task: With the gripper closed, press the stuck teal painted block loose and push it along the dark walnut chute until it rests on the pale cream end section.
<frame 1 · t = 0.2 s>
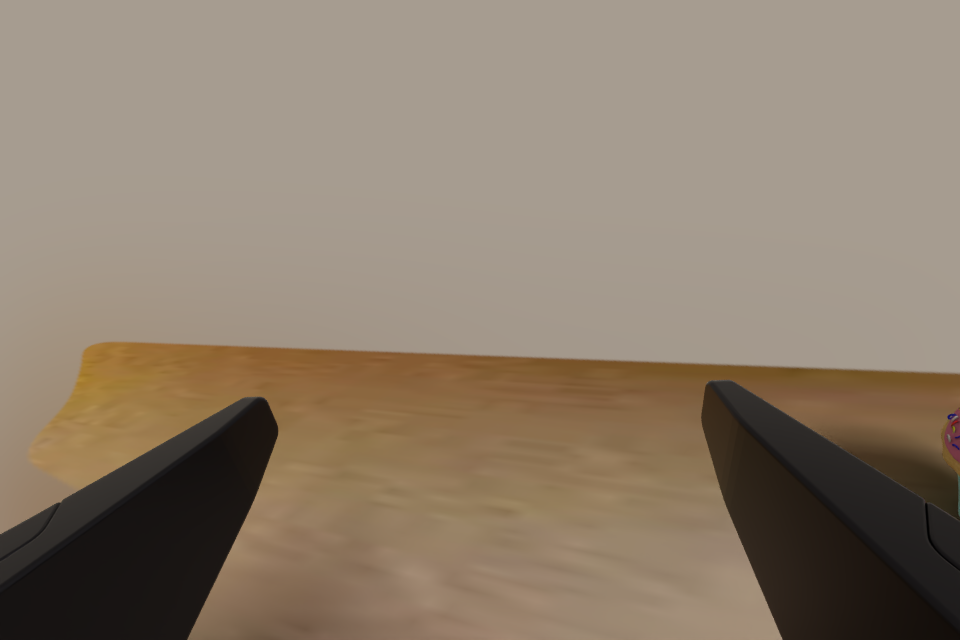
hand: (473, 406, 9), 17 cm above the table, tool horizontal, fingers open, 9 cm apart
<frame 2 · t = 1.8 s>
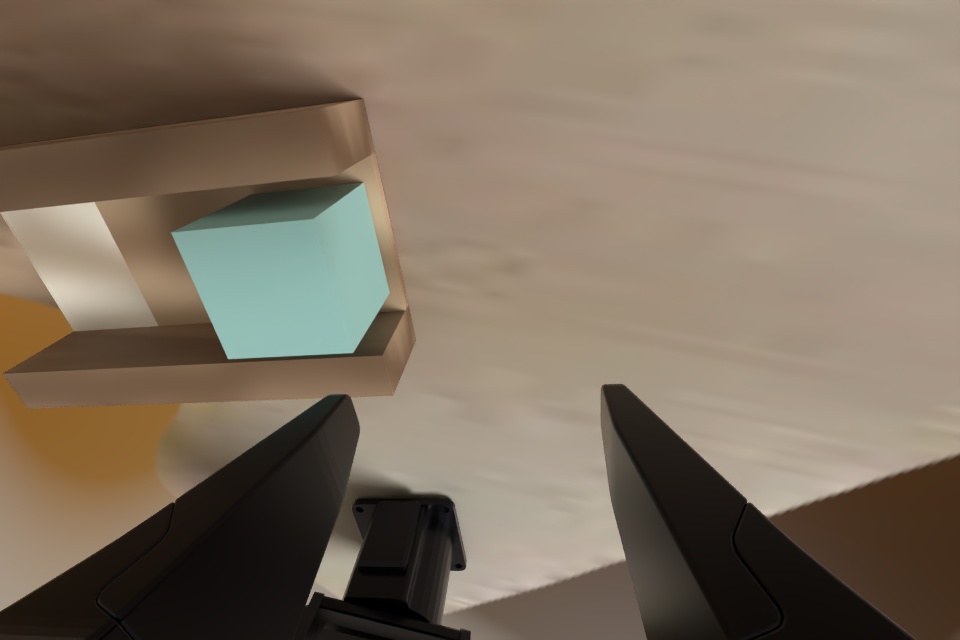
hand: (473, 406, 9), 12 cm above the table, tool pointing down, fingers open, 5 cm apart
teal block: (298, 267, 18), point 3 cm above the table, slide at 0.0 cm
chute: (209, 250, 22), on the table
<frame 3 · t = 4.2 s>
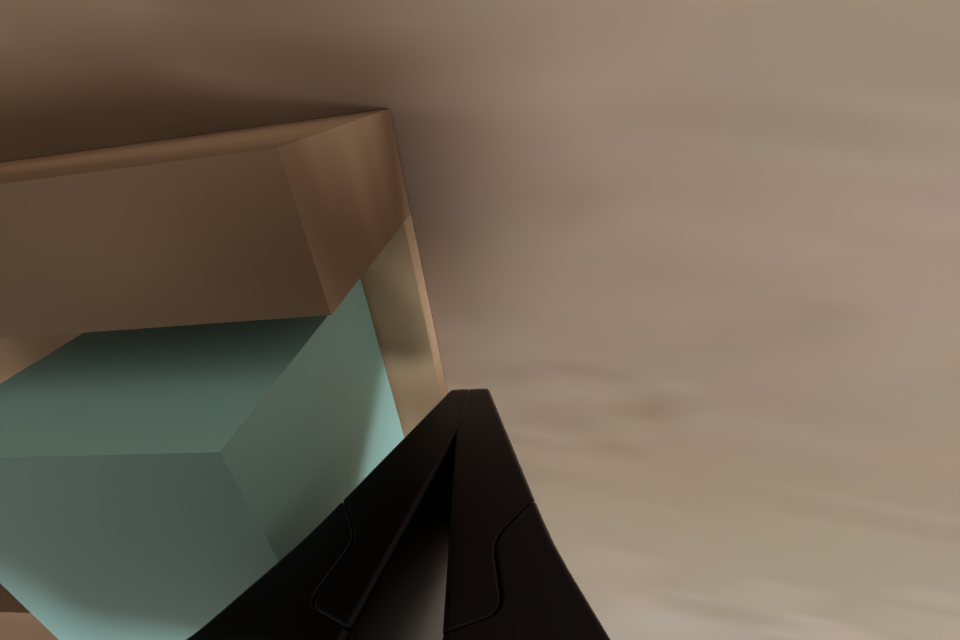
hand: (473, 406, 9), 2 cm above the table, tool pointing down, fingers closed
teal block: (229, 455, 9), point 3 cm above the table, slide at 0.7 cm, touching gripper
chute: (117, 372, 13), on the table
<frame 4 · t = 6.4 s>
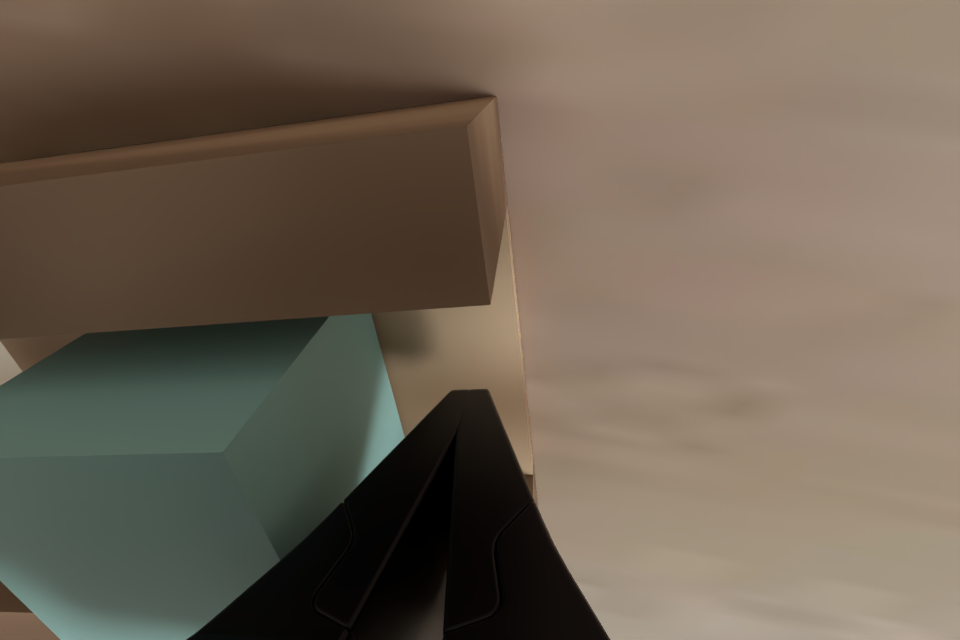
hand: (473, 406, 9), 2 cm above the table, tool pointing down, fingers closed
teal block: (230, 455, 9), point 3 cm above the table, slide at 2.7 cm, touching gripper
chute: (183, 369, 12), on the table
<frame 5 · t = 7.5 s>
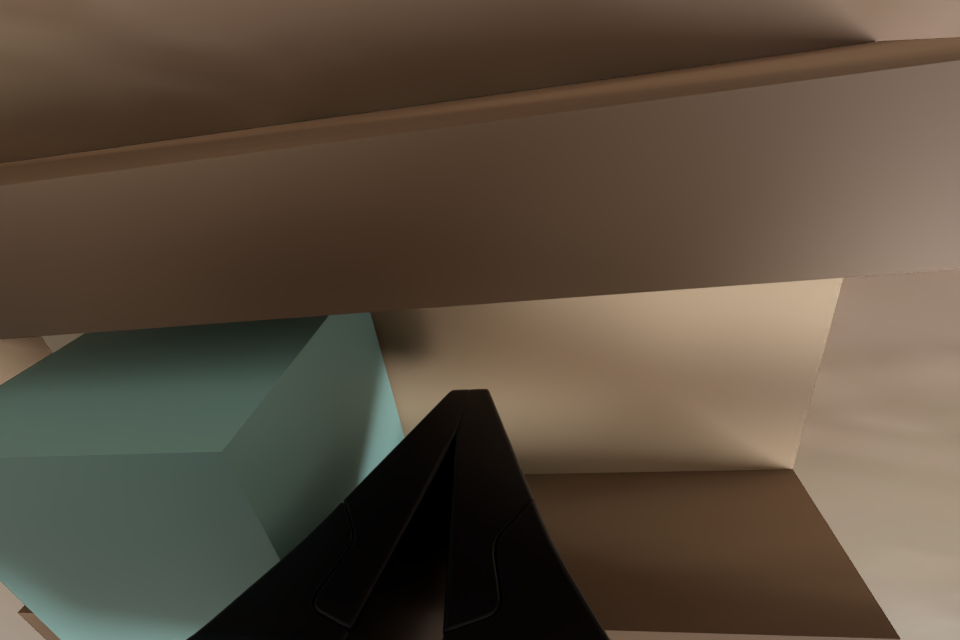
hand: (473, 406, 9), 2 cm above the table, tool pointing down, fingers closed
teal block: (230, 455, 9), point 3 cm above the table, slide at 8.9 cm, touching gripper
chute: (410, 355, 11), on the table
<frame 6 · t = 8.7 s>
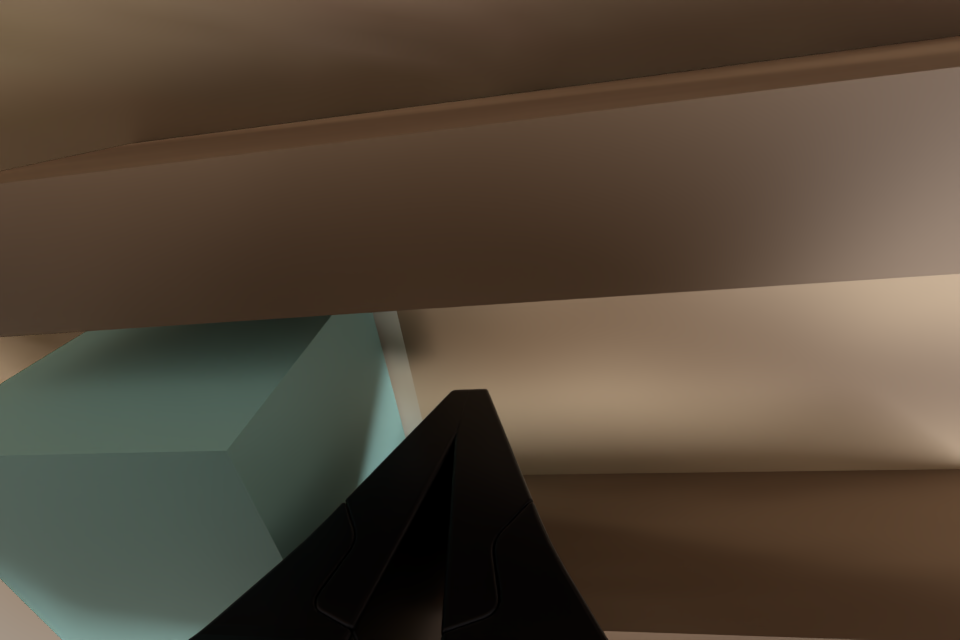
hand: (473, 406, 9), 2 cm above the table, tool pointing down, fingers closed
teal block: (231, 454, 9), point 3 cm above the table, slide at 13.0 cm, touching gripper
chute: (581, 347, 11), on the table
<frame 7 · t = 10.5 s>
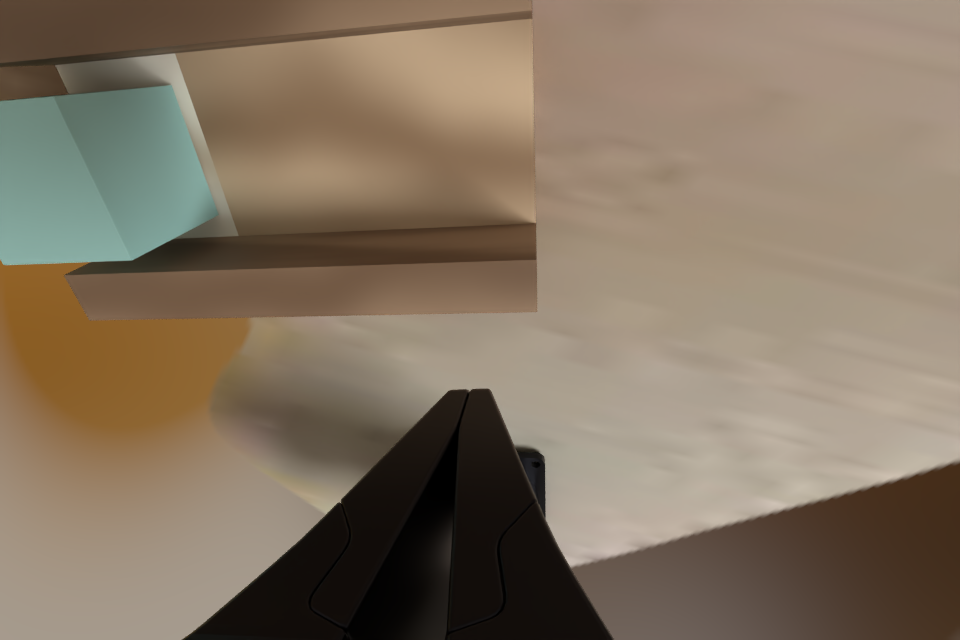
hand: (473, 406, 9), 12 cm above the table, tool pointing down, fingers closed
teal block: (90, 171, 17), point 3 cm above the table, slide at 13.0 cm
chute: (309, 144, 19), on the table
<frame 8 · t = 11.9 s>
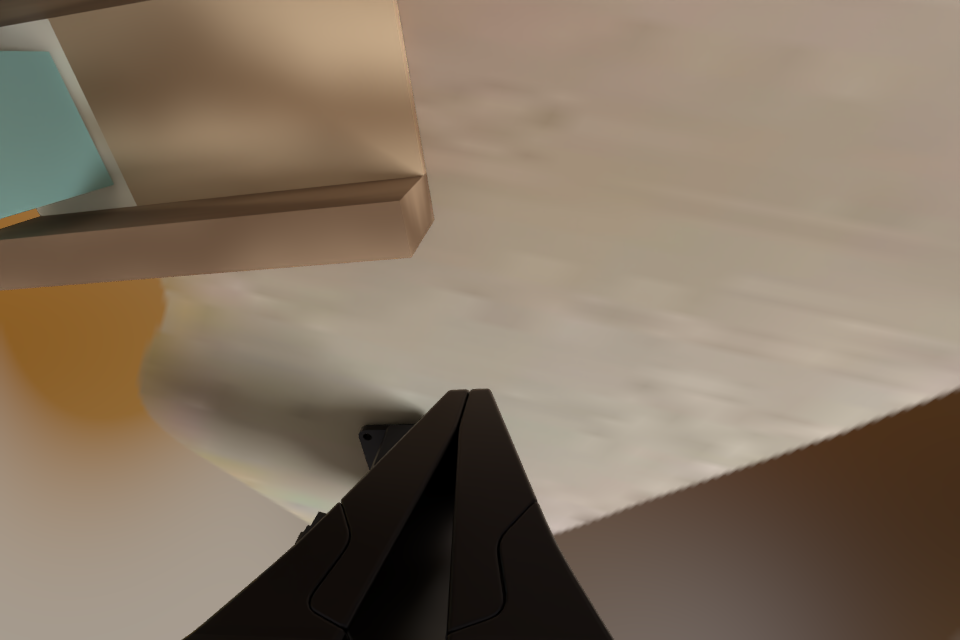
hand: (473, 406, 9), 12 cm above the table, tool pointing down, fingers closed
chute: (194, 106, 19), on the table
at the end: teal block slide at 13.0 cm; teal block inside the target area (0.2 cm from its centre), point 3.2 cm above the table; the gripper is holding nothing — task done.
